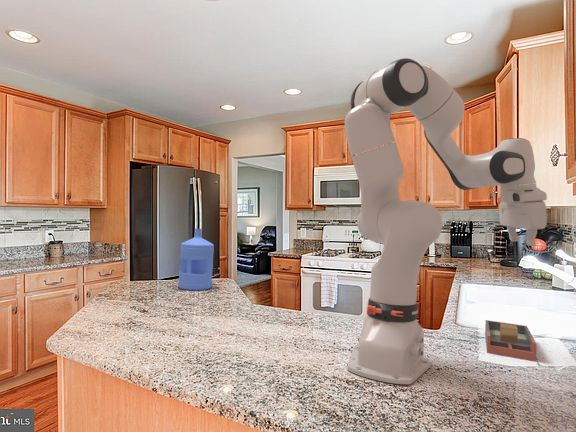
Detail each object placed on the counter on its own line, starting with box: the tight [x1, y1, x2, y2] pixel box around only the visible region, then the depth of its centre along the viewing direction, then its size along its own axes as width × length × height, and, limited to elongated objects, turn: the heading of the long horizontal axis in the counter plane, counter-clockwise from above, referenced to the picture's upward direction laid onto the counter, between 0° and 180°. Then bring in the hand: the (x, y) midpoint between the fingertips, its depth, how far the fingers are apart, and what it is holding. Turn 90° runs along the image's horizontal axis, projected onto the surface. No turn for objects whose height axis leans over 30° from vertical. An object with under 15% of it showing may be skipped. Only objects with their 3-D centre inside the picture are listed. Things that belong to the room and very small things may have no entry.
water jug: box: [177, 228, 215, 291], centre depth 172 cm, size 16×16×28 cm
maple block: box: [500, 323, 518, 343], centre depth 103 cm, size 4×4×4 cm
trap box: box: [484, 319, 538, 362], centre depth 104 cm, size 20×11×4 cm, turn 153°
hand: (522, 242), depth 104 cm, fingers open, 8 cm apart
